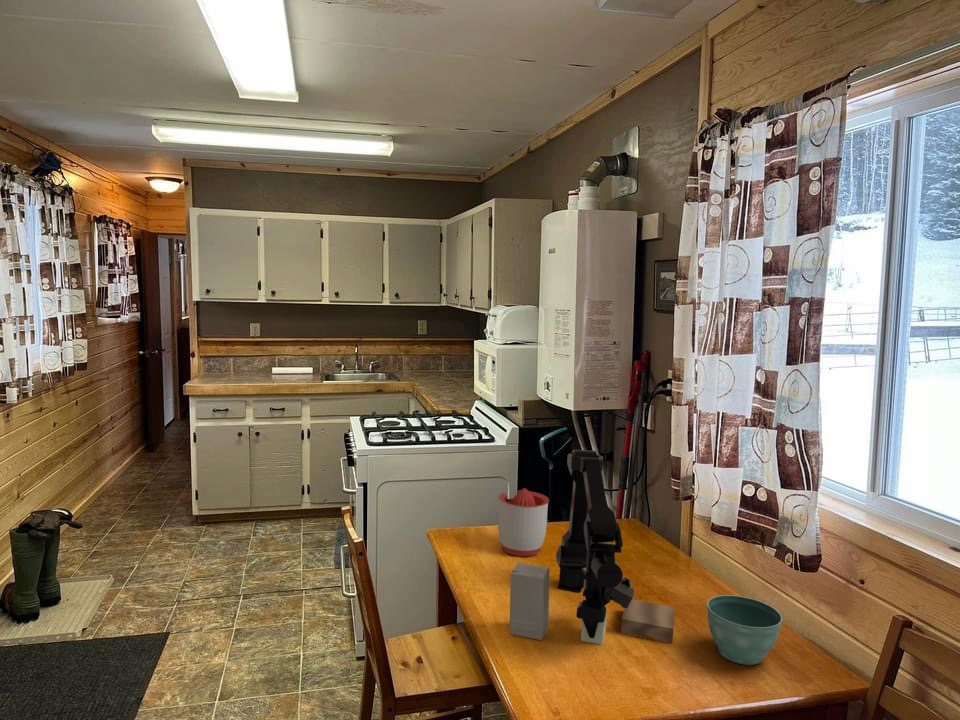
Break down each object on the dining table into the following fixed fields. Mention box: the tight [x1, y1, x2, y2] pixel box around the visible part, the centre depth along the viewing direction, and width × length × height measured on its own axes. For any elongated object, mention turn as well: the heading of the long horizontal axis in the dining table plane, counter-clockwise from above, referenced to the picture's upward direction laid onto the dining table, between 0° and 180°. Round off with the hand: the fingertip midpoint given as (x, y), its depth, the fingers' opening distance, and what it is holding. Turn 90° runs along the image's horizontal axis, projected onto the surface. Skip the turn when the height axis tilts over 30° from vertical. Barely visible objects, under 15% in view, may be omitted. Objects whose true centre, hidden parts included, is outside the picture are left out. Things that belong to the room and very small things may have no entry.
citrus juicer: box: [497, 487, 550, 558], centre depth 214 cm, size 16×17×20 cm
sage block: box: [580, 610, 608, 646], centre depth 162 cm, size 5×5×6 cm
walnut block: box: [620, 598, 676, 644], centre depth 169 cm, size 12×12×4 cm
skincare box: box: [509, 562, 550, 641], centre depth 162 cm, size 8×7×16 cm
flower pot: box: [706, 594, 783, 666], centre depth 158 cm, size 16×16×11 cm
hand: (593, 632), depth 162 cm, fingers closed on sage block, 5 cm apart
